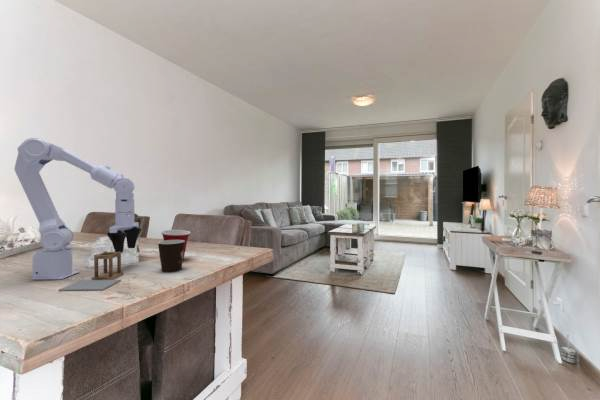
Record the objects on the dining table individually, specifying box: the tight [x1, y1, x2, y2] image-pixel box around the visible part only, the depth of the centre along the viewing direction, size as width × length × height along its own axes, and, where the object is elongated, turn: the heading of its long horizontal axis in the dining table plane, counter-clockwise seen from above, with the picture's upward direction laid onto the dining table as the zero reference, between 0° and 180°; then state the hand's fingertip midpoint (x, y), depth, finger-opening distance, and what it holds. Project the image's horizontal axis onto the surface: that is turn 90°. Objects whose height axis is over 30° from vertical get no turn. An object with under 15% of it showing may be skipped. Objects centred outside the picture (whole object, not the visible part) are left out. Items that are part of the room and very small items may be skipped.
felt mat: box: [57, 279, 122, 292], centre depth 82 cm, size 12×8×1 cm
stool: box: [91, 251, 124, 280], centre depth 90 cm, size 6×6×8 cm
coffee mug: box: [157, 240, 185, 273], centre depth 101 cm, size 12×9×10 cm
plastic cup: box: [160, 229, 191, 260], centre depth 112 cm, size 11×11×12 cm
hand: (125, 250), depth 100 cm, fingers open, 7 cm apart
